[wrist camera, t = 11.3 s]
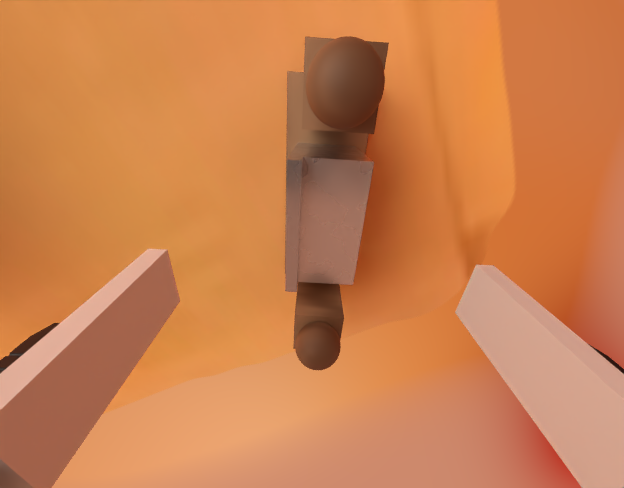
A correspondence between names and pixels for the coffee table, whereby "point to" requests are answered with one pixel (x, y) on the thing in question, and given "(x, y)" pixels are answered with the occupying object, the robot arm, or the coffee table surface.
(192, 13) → the coffee table surface
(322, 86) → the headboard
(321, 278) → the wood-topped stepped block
